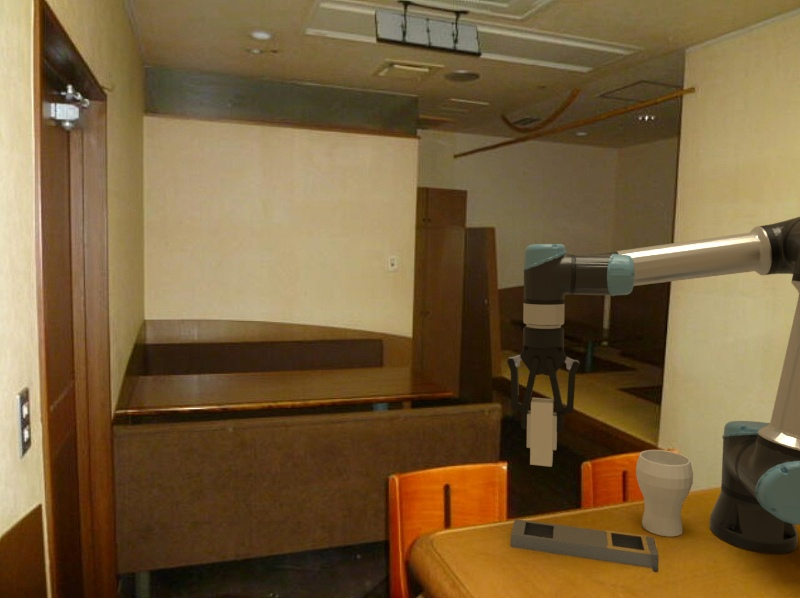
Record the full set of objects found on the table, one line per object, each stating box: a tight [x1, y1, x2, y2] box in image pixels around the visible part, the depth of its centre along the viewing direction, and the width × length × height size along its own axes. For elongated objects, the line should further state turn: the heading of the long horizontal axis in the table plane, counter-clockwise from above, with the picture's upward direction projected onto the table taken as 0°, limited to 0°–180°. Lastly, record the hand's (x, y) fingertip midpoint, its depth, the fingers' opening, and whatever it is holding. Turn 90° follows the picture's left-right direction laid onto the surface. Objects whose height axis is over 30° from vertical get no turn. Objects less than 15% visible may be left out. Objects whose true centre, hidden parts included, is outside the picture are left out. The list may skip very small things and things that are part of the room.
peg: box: [529, 397, 555, 468], centre depth 111 cm, size 4×4×12 cm
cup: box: [635, 449, 694, 537], centre depth 120 cm, size 11×11×15 cm
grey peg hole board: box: [510, 518, 660, 573], centre depth 110 cm, size 26×7×3 cm, turn 73°
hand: (541, 446), depth 111 cm, fingers closed on peg, 4 cm apart
